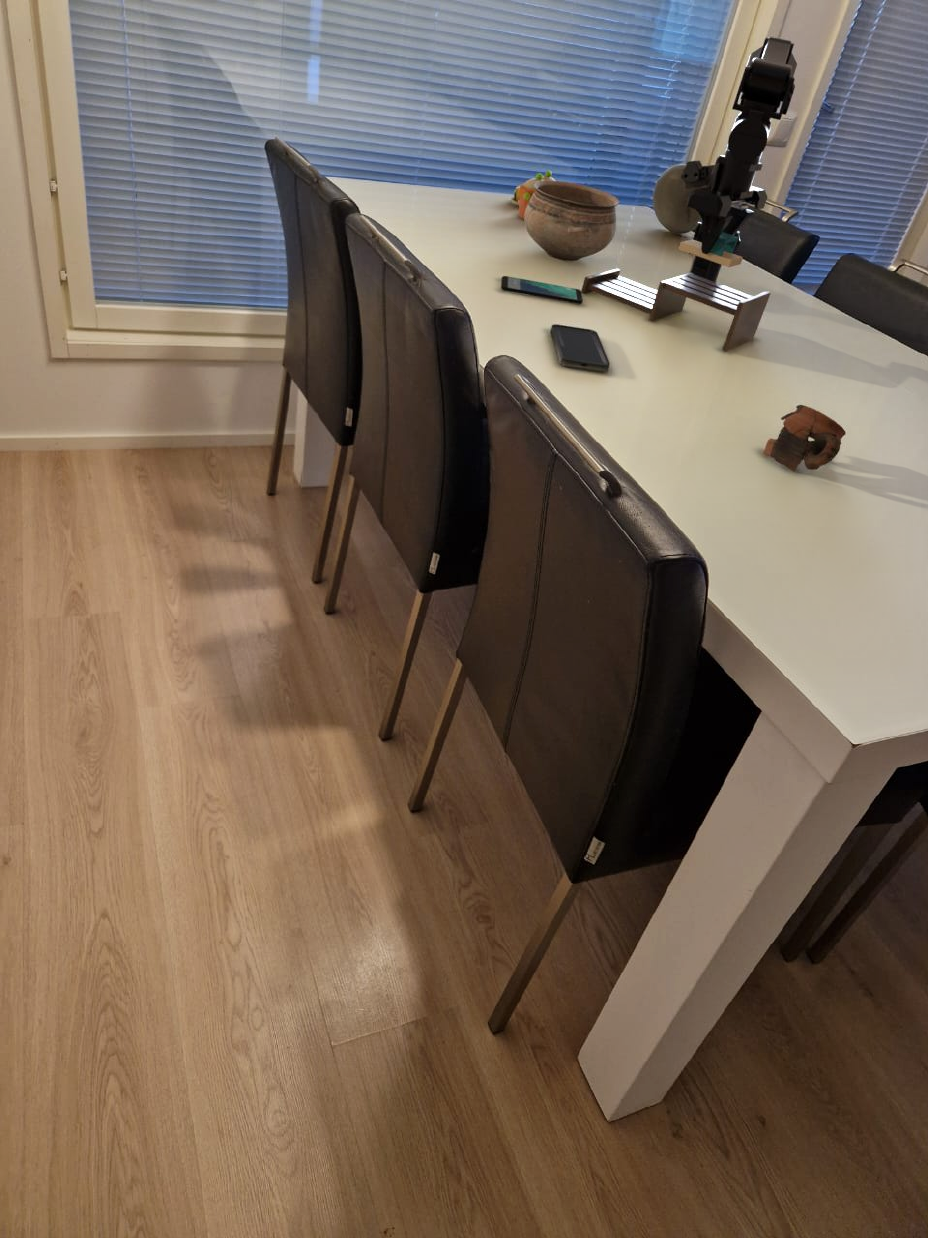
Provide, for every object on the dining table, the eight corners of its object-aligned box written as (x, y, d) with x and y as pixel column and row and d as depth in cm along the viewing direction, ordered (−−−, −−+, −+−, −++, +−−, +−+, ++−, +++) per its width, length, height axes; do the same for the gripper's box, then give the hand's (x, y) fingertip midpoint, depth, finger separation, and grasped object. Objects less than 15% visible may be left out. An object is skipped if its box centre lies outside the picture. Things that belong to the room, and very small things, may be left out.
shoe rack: (613, 283, 171) (625, 238, 166) (753, 339, 158) (771, 292, 153) (580, 292, 163) (592, 246, 158) (725, 351, 150) (743, 303, 145)
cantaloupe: (707, 235, 216) (728, 170, 207) (687, 244, 206) (708, 175, 197) (656, 219, 221) (674, 154, 212) (634, 227, 211) (652, 159, 202)
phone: (596, 330, 144) (611, 365, 133) (594, 336, 145) (609, 372, 133) (550, 323, 143) (560, 358, 132) (548, 329, 144) (559, 365, 132)
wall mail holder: (690, 246, 155) (698, 223, 152) (740, 264, 151) (749, 240, 148) (678, 248, 152) (685, 225, 149) (728, 267, 147) (737, 243, 145)
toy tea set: (584, 232, 199) (595, 187, 193) (519, 223, 196) (528, 176, 190) (561, 202, 219) (570, 160, 213) (501, 193, 216) (509, 150, 210)
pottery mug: (745, 445, 122) (782, 393, 120) (789, 477, 126) (825, 428, 124) (794, 467, 111) (835, 411, 109) (841, 501, 115) (881, 448, 113)
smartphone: (501, 274, 161) (580, 289, 162) (501, 278, 161) (579, 293, 162) (501, 286, 155) (583, 301, 156) (500, 290, 156) (582, 305, 157)
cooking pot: (620, 281, 173) (637, 216, 166) (528, 269, 170) (542, 202, 162) (592, 243, 192) (606, 184, 185) (509, 231, 189) (520, 170, 181)
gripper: (724, 138, 151) (695, 232, 160) (673, 141, 138) (645, 242, 148) (783, 155, 146) (749, 251, 155) (735, 159, 134) (702, 263, 143)
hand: (711, 251), depth 151 cm, fingers closed on wall mail holder, 5 cm apart
